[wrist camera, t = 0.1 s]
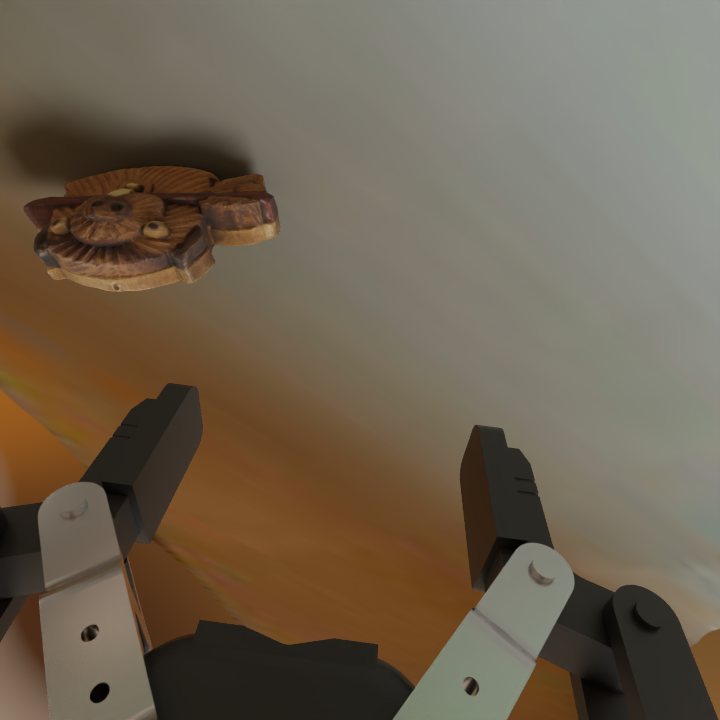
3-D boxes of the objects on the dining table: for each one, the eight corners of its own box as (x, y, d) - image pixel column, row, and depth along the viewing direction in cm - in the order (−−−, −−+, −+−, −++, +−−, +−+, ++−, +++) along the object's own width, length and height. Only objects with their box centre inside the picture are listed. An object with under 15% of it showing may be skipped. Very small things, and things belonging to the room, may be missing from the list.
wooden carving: (280, 138, 30) (235, 209, 23) (297, 205, 33) (261, 287, 26) (55, 164, 33) (-48, 235, 25) (90, 224, 36) (6, 303, 29)
